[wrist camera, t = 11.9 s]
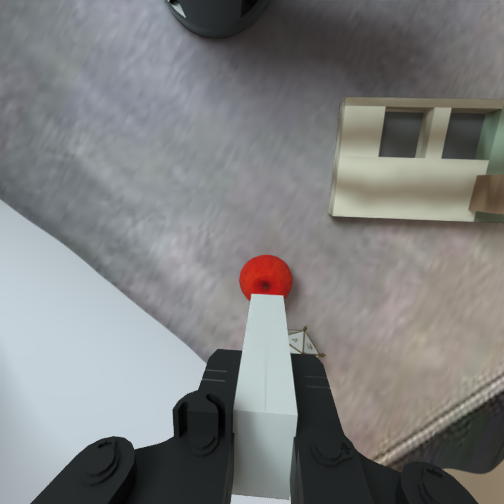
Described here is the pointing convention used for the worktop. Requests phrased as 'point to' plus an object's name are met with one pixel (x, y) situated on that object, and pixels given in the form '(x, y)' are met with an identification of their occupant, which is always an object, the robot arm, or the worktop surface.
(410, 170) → the shape sorter board
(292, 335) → the game die
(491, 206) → the block
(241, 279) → the apple
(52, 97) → the worktop surface
